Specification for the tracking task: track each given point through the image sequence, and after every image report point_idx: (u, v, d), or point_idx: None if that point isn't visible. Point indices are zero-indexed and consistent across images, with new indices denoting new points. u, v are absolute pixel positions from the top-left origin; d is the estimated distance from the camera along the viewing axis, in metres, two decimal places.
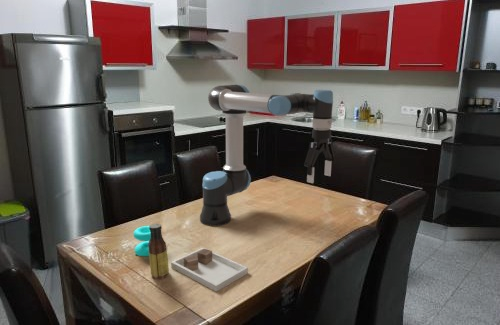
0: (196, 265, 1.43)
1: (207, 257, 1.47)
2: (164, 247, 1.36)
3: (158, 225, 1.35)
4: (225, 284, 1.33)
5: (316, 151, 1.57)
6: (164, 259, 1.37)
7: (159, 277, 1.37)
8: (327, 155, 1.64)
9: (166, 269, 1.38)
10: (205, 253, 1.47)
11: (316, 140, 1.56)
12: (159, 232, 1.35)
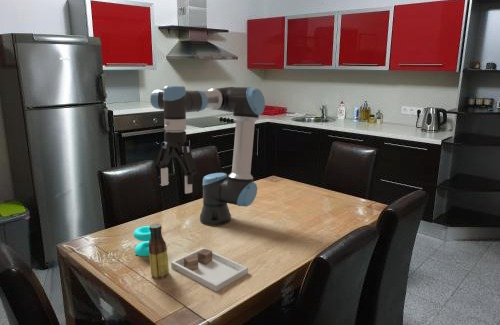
0: (196, 265, 1.43)
1: (207, 257, 1.47)
2: (164, 247, 1.36)
3: (158, 225, 1.35)
4: (225, 284, 1.33)
5: None
6: (164, 259, 1.37)
7: (159, 277, 1.37)
8: None
9: (166, 269, 1.38)
10: (205, 253, 1.47)
11: None
12: (159, 232, 1.35)
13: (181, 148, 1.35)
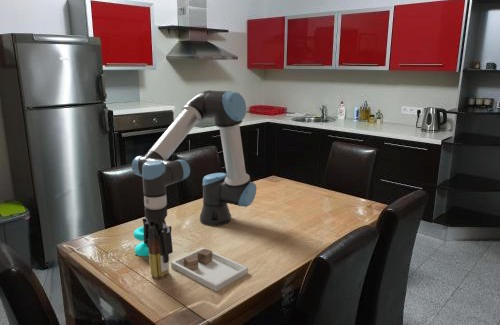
0: (196, 265, 1.43)
1: (207, 257, 1.47)
2: None
3: None
4: (225, 284, 1.33)
5: None
6: None
7: (159, 277, 1.37)
8: None
9: None
10: (205, 253, 1.47)
11: None
12: None
13: (162, 226, 1.32)
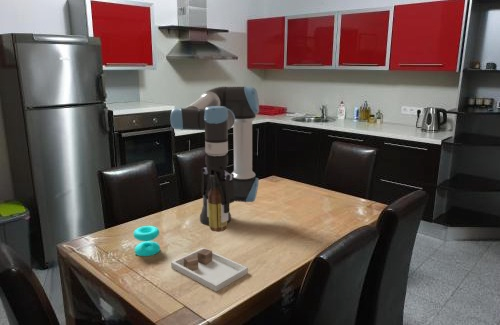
0: (196, 265, 1.43)
1: (207, 257, 1.47)
2: None
3: None
4: (225, 284, 1.33)
5: None
6: None
7: (218, 228, 1.33)
8: None
9: None
10: (205, 253, 1.47)
11: None
12: (220, 181, 1.30)
13: (224, 173, 1.27)
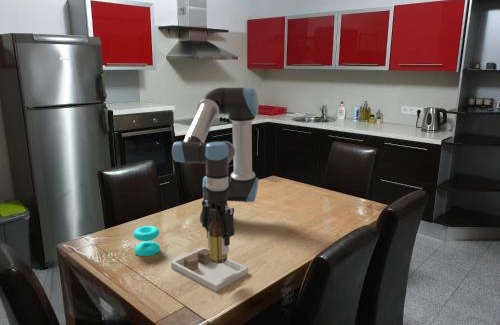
0: (196, 265, 1.43)
1: (207, 257, 1.47)
2: None
3: None
4: (225, 284, 1.33)
5: None
6: None
7: (219, 260, 1.35)
8: None
9: None
10: (205, 253, 1.47)
11: None
12: None
13: (224, 208, 1.30)
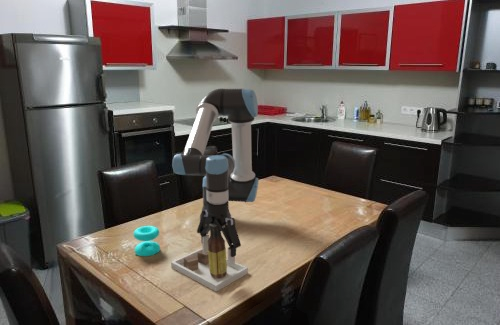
0: (196, 265, 1.43)
1: (207, 257, 1.47)
2: (224, 245, 1.36)
3: None
4: (225, 284, 1.33)
5: None
6: (224, 257, 1.37)
7: (219, 275, 1.37)
8: None
9: (225, 267, 1.38)
10: (205, 253, 1.47)
11: None
12: (219, 230, 1.35)
13: (224, 220, 1.31)
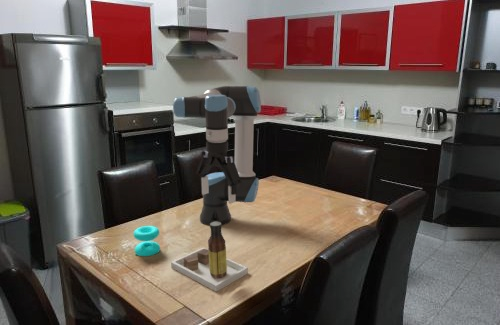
0: (196, 265, 1.43)
1: (207, 257, 1.47)
2: (224, 245, 1.36)
3: (218, 223, 1.35)
4: (225, 284, 1.33)
5: None
6: (224, 257, 1.37)
7: (219, 275, 1.37)
8: None
9: (225, 267, 1.38)
10: (205, 253, 1.47)
11: None
12: (220, 230, 1.35)
13: (224, 158, 1.33)
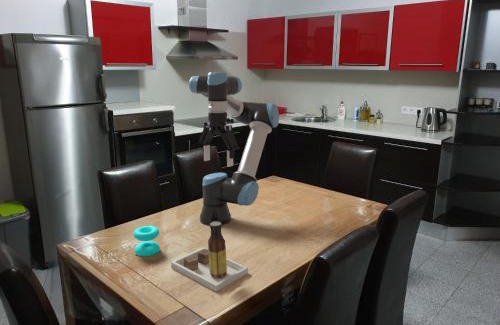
0: (196, 265, 1.43)
1: (207, 257, 1.47)
2: (224, 245, 1.36)
3: (218, 223, 1.35)
4: (225, 284, 1.33)
5: None
6: (224, 257, 1.37)
7: (219, 275, 1.37)
8: None
9: (225, 267, 1.38)
10: (205, 253, 1.47)
11: None
12: (220, 230, 1.35)
13: (223, 127, 1.53)
